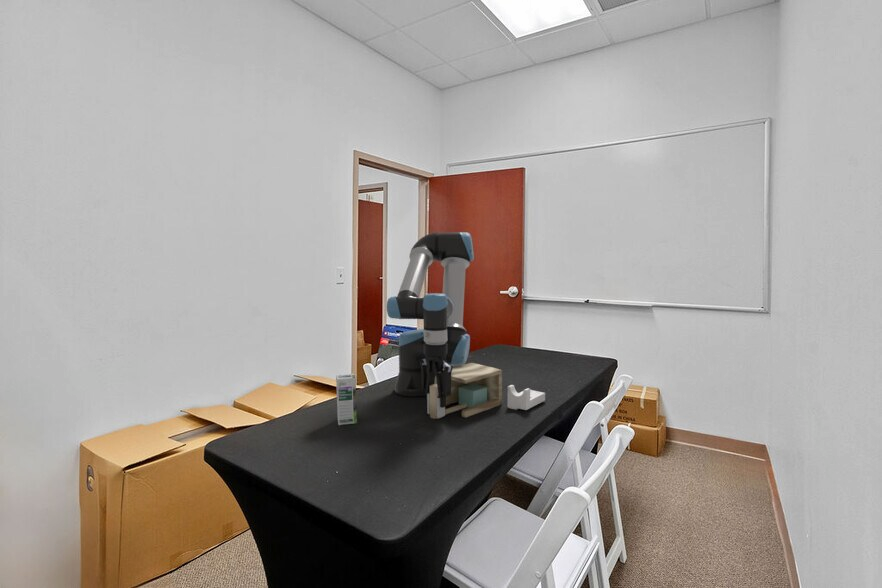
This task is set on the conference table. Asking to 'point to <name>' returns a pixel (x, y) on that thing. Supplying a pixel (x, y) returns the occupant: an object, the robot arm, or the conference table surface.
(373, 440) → the conference table surface
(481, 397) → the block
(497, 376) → the wooden frame
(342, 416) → the syrup box
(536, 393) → the bracket
